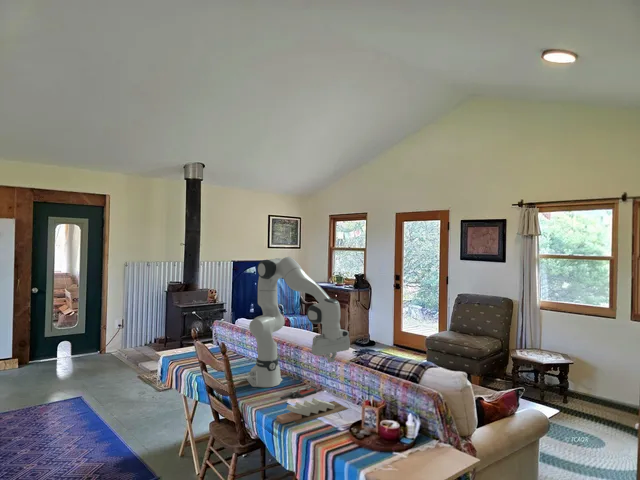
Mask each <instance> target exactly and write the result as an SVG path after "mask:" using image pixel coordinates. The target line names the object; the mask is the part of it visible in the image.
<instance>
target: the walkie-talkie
mask: <svg viewBox="0 0 640 480" xmlns="http://www.w3.org/2000/svg"><path fill="white" fill-rule="evenodd" d="M317 393H318V391H317V388H315V387H312V386H307V387H301V388H299V389H296V390H293V391H290V393H289V394H285V395H282V396H280V397H279V399H281V400H282V399H285V398H286V399H287V398H288V397H293V398H295V399H302V398H303V399H304V398H306V397H309V396H313V395H315V394H317Z"/></svg>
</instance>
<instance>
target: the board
mask: <svg viewBox="0 0 640 480" xmlns="http://www.w3.org/2000/svg"><path fill="white" fill-rule="evenodd" d="M328 402H329V403H331V404H333V405H335V407H334V409H330V408H327V410H326V412H325V411H321V410H319V411H318V414H316V413H312V412H311V413H310V416H306V415H302V418H301V419H298V420H294V421H293V422H295V424H297V425H298V424H301V423H305V422H308V421H311V420H315V419H319V418H322V417H326V416H329V415H333V414H336V413H339V412H343V411H346V410H349V408H348V407H346V406H344V405H343V404H340V403H339V402H337V401H334V400H332V401H328Z"/></svg>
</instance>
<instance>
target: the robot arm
mask: <svg viewBox="0 0 640 480" xmlns="http://www.w3.org/2000/svg"><path fill="white" fill-rule="evenodd" d="M257 274H258V280H257V305H258V306H259V307H260V308H261V311H262V315H259V316H256V317H254V318H253V319H252V320H250V323H249V325H248V326H249V327H248V329H249V331H250V333H251V334H252V335H253V336H254V338H255V341H256V346H257V357H256V358H255V360H256V362H255V365H254V366H253V367H252V368H250V371H249V376H247V377H246V379H245V380H247V381H246V382H248V384H250V386H251V387H254V388H257V387H258V388H272V387H277V386H279V385H280V384H281V382H283V378H282V377H281V366H280V365H279V358H278V343H277V342H276V341H275V340H274V337H273V334H274V333H275V332H278V331H280V330H281V329H282V328H283V327H284V326H285V323H286V321H285V317H284V315H283V314H282V313H281V311H280V309H279V305H278V304H279V303H278V281H279V279H282V280H283V281H284V282H285V283H286V285H287V286H288V287H289V288H290V289H291V290H292V291H295V292H299V293H300V292H301V293H305V294H308V295H311V296H312V297H314V298H315V300H316V301H317V303H314V304H311V305H310V306H309V307H308V308H307V311H306V316H307V320H308V322H310V323H311V324H312V325H313V324H314V325H317V324H321V334H317V335H315V336H314V337H312V345H311V353H312V355H314V356H316V357H318V356H324V355H325V357H326V358H327V362H328V363H334V362H335V359H336V356H337V355H338V353H339V352H344V351H349V349H350V347H351V343H350V341H351V339H350V337H349V336H350V331H348V330H346V329H343V328H341V323H340V321H341V315H342V313H341V305H340V302H339V301H338V299H335V298H331V297H330V296H329V294H327V292H326V291H325V290H324V289H323V288H322V287H321V286H320V284H319V283H318V282H317V281H316V280H314V279H313V278H311V277H310V276H309V275H308V274H307V272H305V270H304V269H303V267H302V266H301V265H300V263H298V261H296V259H294V258H293V257H291V256H285V257H283V258H279V257H278V258H273V259H272V258H271V259H263V260H260V262H259V263H258V265H257ZM330 356H331V357H330Z"/></svg>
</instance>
